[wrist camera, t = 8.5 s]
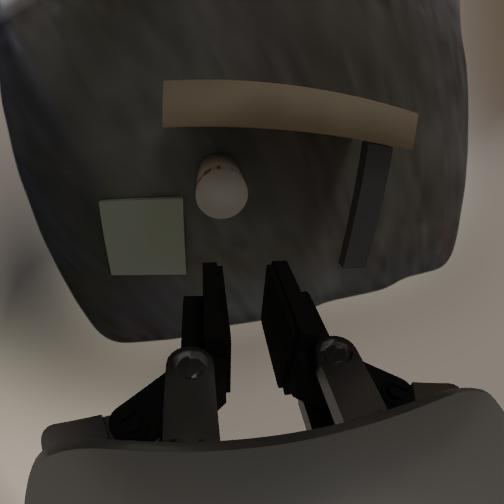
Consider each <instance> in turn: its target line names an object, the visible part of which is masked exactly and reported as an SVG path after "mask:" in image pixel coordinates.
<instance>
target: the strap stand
mask: <svg viewBox="0 0 504 504" xmlns="http://www.w3.org/2000/svg"><path fill="white" fill-rule="evenodd" d="M417 121H418V114H417V113H414V112H411V111H408V110H405V109H402V108H398V107H395V106H391V105H388V104H384V103H380V102H376V101H373V100H369V99H364V98H360V97H356V96H351V95H346V94H342V93H337V92H331V91H326V90H320V89H314V88H308V87H301V86H293V85H285V84H276V83H266V82H254V81H238V80H167V81H164V82H163V112H162V128H165V127H245V128H264V129H278V130H290V131H300V132H310V133H318V134H326V135H334V136H341V137H347V138H353V139H360V140H365V141H371V142H376V143H382V144H387V145H391V146H396V147H401V148H405V149H410V150H413V146H414V140H415V134H416V128H417Z"/></svg>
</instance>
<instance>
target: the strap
mask: <svg viewBox="0 0 504 504" xmlns="http://www.w3.org/2000/svg"><path fill="white" fill-rule="evenodd" d="M392 150H393V148H392V147H389V146H387V145H382V144H377V143H371V142H366V141H362V147H361V153H360V160H359V166H358V172H357V177H356V183H355V188H354V194H353V199H352V204H351V209H350V214H349V219H348V223H347V228H346V232H345V237H344V241H343V246H342V250H341V254H340V258H339V262H338V263H339V264H340V265H341V267H342V268H364V267H365V266H366V262H367V259H368V255H369V252H370V248H371V245H372V241H373V237H374V233H375V230H376V226H377V222H378V218H379V214H380V209H381V205H382V201H383V196H384V192H385V187H386V182H387V177H388V172H389V167H390V162H391V156H392Z"/></svg>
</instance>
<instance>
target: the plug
mask: <svg viewBox="0 0 504 504" xmlns="http://www.w3.org/2000/svg"><path fill="white" fill-rule="evenodd" d="M247 199H248V189H247V185H246V183H245V181H244V179H243V177H242V174H241V172H240V170H239V168H238V166H237V163H236V162H235V160H234V159H233V158H232V157H230V156H229V155H227V154H224V153H214V154H211V155H208V156H207V157H206V158H204V159H203V160H202V162H201V163H200V165H199V169H198V176H197V185H196V201H197V204H198V206H199V208H200V209H201V210H202V211H203V212H204V213H205V214H206V215H208V216H210V217H212V218H216V219H226V218H230V217H233V216H235V215H236V214H238V213H239V212H240V211H241V210H242V209H243V208H244V206H245V204H246V202H247Z"/></svg>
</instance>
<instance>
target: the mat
mask: <svg viewBox="0 0 504 504" xmlns="http://www.w3.org/2000/svg"><path fill="white" fill-rule="evenodd" d="M99 208H100V215H101V221H102V228H103V234H104V239H105V245H106V250H107V255H108V260H109V265H110V270H111V274H112V275H184V274H186V256H185V236H184V210H183V197H153V198H129V199H110V200H100V201H99Z"/></svg>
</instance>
